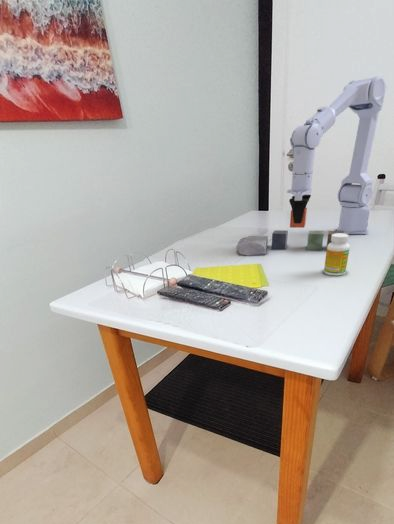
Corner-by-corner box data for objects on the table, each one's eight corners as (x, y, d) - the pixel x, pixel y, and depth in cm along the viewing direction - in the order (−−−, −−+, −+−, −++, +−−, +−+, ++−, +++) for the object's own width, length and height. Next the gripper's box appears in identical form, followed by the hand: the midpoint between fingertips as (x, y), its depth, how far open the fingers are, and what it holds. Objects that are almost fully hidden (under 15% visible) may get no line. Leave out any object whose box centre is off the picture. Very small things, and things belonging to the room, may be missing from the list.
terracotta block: (305, 224, 109) (307, 207, 106) (304, 227, 105) (305, 210, 102) (291, 224, 110) (292, 208, 107) (289, 227, 107) (290, 210, 104)
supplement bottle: (342, 277, 86) (349, 238, 81) (321, 274, 89) (326, 236, 83) (347, 270, 90) (353, 233, 85) (326, 268, 92) (331, 231, 87)
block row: (341, 246, 108) (343, 230, 105) (341, 250, 104) (343, 234, 101) (273, 245, 115) (274, 230, 112) (271, 249, 111) (272, 233, 108)
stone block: (237, 261, 109) (268, 254, 105) (234, 246, 106) (265, 239, 103) (241, 251, 119) (269, 245, 115) (238, 237, 116) (267, 231, 113)
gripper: (291, 171, 107) (288, 216, 114) (285, 176, 95) (282, 226, 102) (314, 170, 104) (310, 216, 112) (311, 175, 93) (306, 226, 100)
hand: (298, 221), depth 107 cm, fingers closed on terracotta block, 4 cm apart
